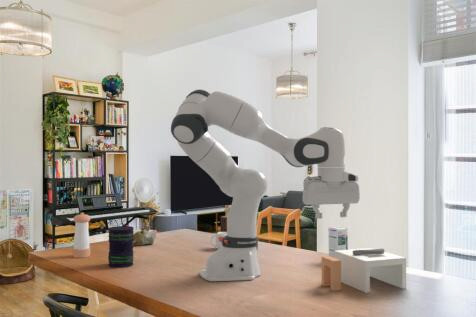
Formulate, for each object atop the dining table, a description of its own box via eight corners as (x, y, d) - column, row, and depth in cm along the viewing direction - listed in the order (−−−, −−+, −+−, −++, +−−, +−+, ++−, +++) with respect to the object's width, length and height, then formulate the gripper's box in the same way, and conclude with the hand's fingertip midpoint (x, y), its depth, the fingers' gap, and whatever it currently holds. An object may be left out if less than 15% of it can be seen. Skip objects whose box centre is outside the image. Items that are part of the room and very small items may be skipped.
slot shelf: (365, 292, 133) (365, 256, 133) (334, 278, 150) (334, 246, 150) (406, 288, 139) (406, 252, 139) (371, 275, 155) (371, 243, 156)
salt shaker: (78, 258, 180) (79, 214, 181) (69, 256, 185) (70, 212, 185) (93, 255, 186) (94, 212, 186) (84, 253, 190) (84, 211, 191)
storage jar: (103, 265, 169) (103, 227, 169) (124, 261, 176) (125, 225, 176) (116, 269, 162) (117, 230, 162) (138, 265, 169) (138, 227, 169)
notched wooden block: (333, 290, 135) (333, 261, 135) (321, 284, 142) (321, 256, 142) (341, 289, 136) (341, 260, 136) (329, 284, 143) (329, 256, 143)
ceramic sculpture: (158, 228, 212) (128, 231, 205) (159, 245, 212) (129, 249, 205) (153, 225, 222) (124, 229, 215) (154, 242, 221) (125, 246, 215)
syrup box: (337, 263, 173) (337, 228, 174) (328, 261, 179) (328, 226, 179) (348, 262, 176) (348, 227, 176) (338, 259, 181) (338, 226, 182)
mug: (236, 248, 205) (236, 232, 205) (227, 251, 198) (227, 234, 198) (215, 246, 211) (215, 230, 211) (206, 249, 204) (206, 232, 204)
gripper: (308, 176, 133) (308, 220, 133) (362, 176, 140) (362, 217, 140) (299, 176, 139) (299, 217, 139) (351, 176, 146) (351, 215, 146)
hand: (331, 217), depth 140 cm, fingers open, 8 cm apart
